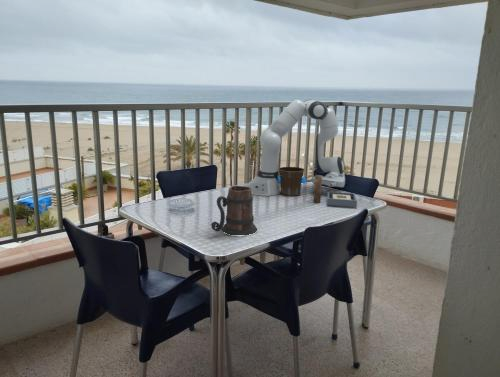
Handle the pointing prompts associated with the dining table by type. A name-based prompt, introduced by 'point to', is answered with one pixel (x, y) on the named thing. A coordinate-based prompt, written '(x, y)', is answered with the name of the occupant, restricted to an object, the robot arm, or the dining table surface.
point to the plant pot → (291, 180)
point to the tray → (341, 200)
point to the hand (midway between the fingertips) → (324, 183)
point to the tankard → (236, 212)
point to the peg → (317, 188)
